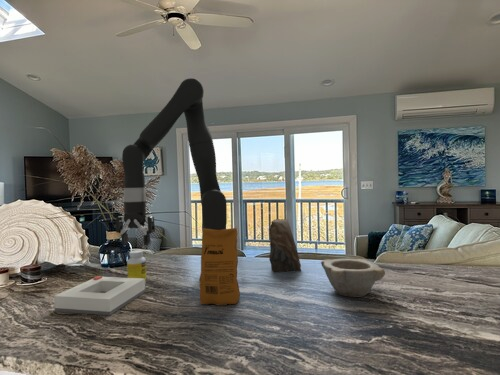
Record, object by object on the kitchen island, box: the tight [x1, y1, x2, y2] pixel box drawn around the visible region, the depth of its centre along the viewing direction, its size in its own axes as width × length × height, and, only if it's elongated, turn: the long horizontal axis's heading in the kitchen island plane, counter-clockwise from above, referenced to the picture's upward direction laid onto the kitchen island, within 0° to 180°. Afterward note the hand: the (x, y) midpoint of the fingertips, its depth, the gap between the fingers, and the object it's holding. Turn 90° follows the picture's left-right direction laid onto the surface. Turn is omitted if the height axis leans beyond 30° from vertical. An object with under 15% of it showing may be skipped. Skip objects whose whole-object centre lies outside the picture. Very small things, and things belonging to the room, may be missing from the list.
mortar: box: [320, 258, 386, 298], centre depth 96 cm, size 17×17×9 cm
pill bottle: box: [126, 249, 147, 283], centre depth 110 cm, size 6×6×12 cm
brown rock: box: [268, 217, 302, 274], centre depth 125 cm, size 13×13×20 cm
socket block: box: [53, 275, 146, 316], centre depth 94 cm, size 18×18×5 cm
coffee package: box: [199, 227, 241, 306], centre depth 92 cm, size 10×12×22 cm
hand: (135, 244), depth 110 cm, fingers open, 8 cm apart
